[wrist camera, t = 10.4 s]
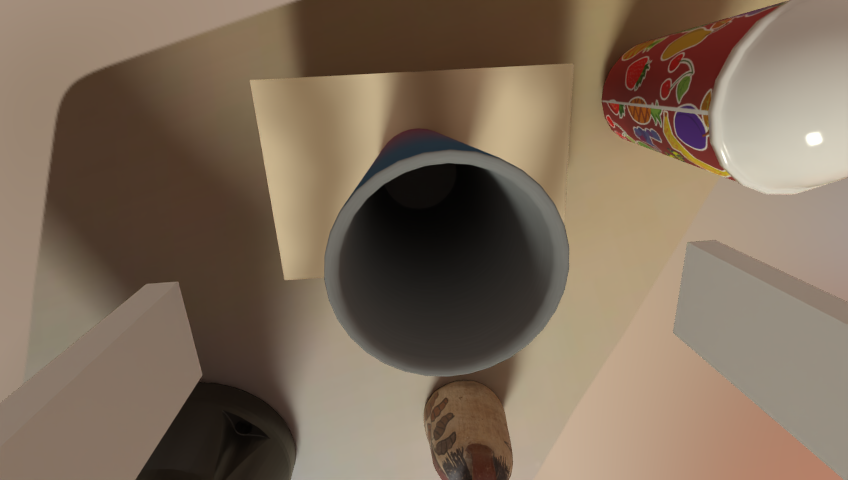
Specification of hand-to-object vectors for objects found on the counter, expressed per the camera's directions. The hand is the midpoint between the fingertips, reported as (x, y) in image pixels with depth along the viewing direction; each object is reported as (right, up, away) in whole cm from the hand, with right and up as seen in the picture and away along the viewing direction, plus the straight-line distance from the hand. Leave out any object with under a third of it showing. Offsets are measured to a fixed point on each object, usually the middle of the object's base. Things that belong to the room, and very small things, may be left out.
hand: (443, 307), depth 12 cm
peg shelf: (-1, +8, +21) cm, 22 cm away
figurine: (+3, -14, +29) cm, 32 cm away
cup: (-1, +6, +15) cm, 16 cm away
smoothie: (+15, +12, +20) cm, 28 cm away
